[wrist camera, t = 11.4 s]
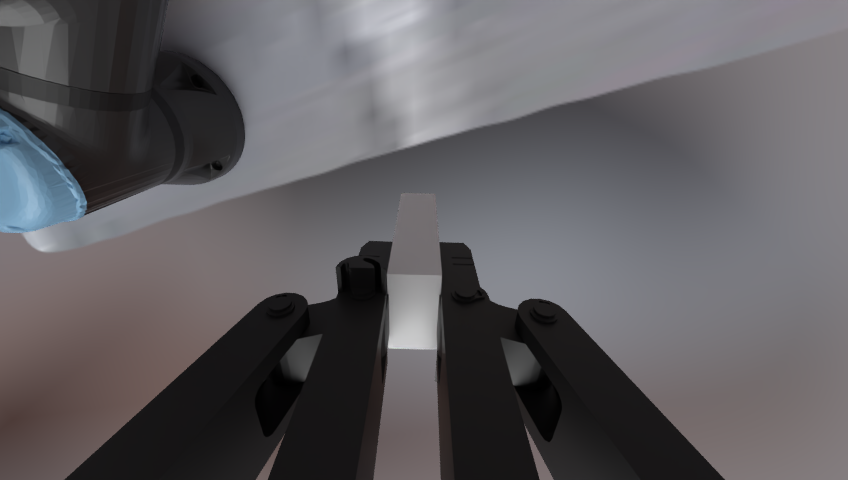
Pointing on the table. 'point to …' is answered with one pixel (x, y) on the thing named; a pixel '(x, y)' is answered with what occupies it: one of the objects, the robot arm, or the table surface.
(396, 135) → the table surface
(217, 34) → the table surface
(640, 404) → the robot arm
